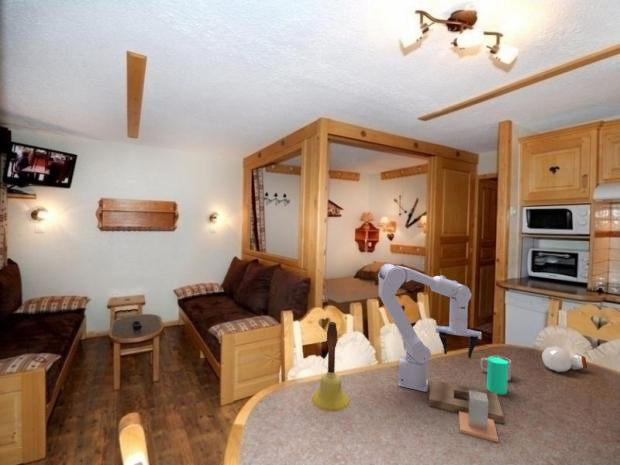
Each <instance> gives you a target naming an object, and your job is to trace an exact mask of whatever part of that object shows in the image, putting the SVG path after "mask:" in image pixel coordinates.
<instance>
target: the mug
mask: <svg viewBox="0 0 620 465" xmlns="http://www.w3.org/2000/svg"><path fill="white" fill-rule="evenodd" d="M491 357H500V358H501V359H503V360H506V361H508V377H507V382H510V381H511V379H512V378H511V377H512V360H511V359H510V358H508V357H505V356H502V355H496V354H495V355H491ZM484 362H488V357H482V358H481V359H480V369H481V371H482V370H483V371H484V372H488V367H487V368H486V367H485V366H484Z"/></svg>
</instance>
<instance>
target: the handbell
mask: <svg viewBox="0 0 620 465" xmlns="http://www.w3.org/2000/svg"><path fill="white" fill-rule="evenodd" d="M326 330H327V331H326V343H327V348H328V351H327V352H328V353H327V354H328V355H327V372H326V373H324V374H323V375H322V376H321V377H320V387H319V389H317V390H316V391H314V392H313V394H312V395H313V396H312V395H311V398H312V399H311V402H312V404H313V403H314V404H313V405H314V406H315V407H316V406H317V407H316V408H318V409H320V410H322V409H323V411H325V412H326V411H327V412H339V411H343V410H344V409H346V408H347V407H348V406H349V405H350V397H349V395H348V394H347V393H346V392H345V391H343V389H342V380H341V377H340V376H339V375H338V374H336V372H335V368H336V348H337V344H338V329H337V324H336V322H335V321H330V322H329V323H328V325H327V329H326Z"/></svg>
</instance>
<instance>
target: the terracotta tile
mask: <svg viewBox="0 0 620 465" xmlns="http://www.w3.org/2000/svg"><path fill="white" fill-rule="evenodd" d="M458 422H459V433H460V434H465V435H469V436H472V437H476V438H480V439H484V440H487V441H491V442H496V443H499V438H498V433H497V429H496V425H495V422H494V420H493V419H489V418H488V422H487V431H486V430H482V429H478V428H475V427H471V426H469V424H468V413H464V412H460V411H459V413H458Z"/></svg>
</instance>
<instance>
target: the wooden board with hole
mask: <svg viewBox="0 0 620 465" xmlns="http://www.w3.org/2000/svg"><path fill="white" fill-rule="evenodd" d="M429 387H430V388H429V396H428V406H430V407H434V408H437V409H441V410H446V411H449V412H454V413H457V414H459V411H460V412H464V413H468V401H466V400H468V396H469V390H471V391H476V392H480V393H485V394H487V398H488V418H489V419H493V420H494V423H498V424H503V425H504V418H505V416H504V413H503V409H502V407H501V403H500V401H499V400H500V399H499V397H498V394H496V393H493V392H491V391H486V390H482V389H477V388H473V387H472V388H471V387H469V386H468V387H467V386H462V385H458V384H455V383H448V382H444V381H439V380H433V379H430V386H429ZM455 397H456V398H455ZM457 398H460V399H457ZM463 399H464V400H463Z"/></svg>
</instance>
